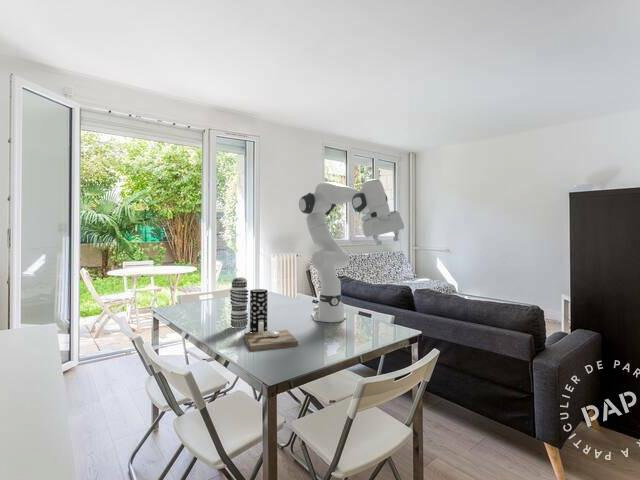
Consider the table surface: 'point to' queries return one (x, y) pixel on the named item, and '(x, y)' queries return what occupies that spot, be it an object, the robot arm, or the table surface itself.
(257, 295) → the spotted tube
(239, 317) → the decorative candle
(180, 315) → the table surface
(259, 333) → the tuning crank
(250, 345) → the dial board
